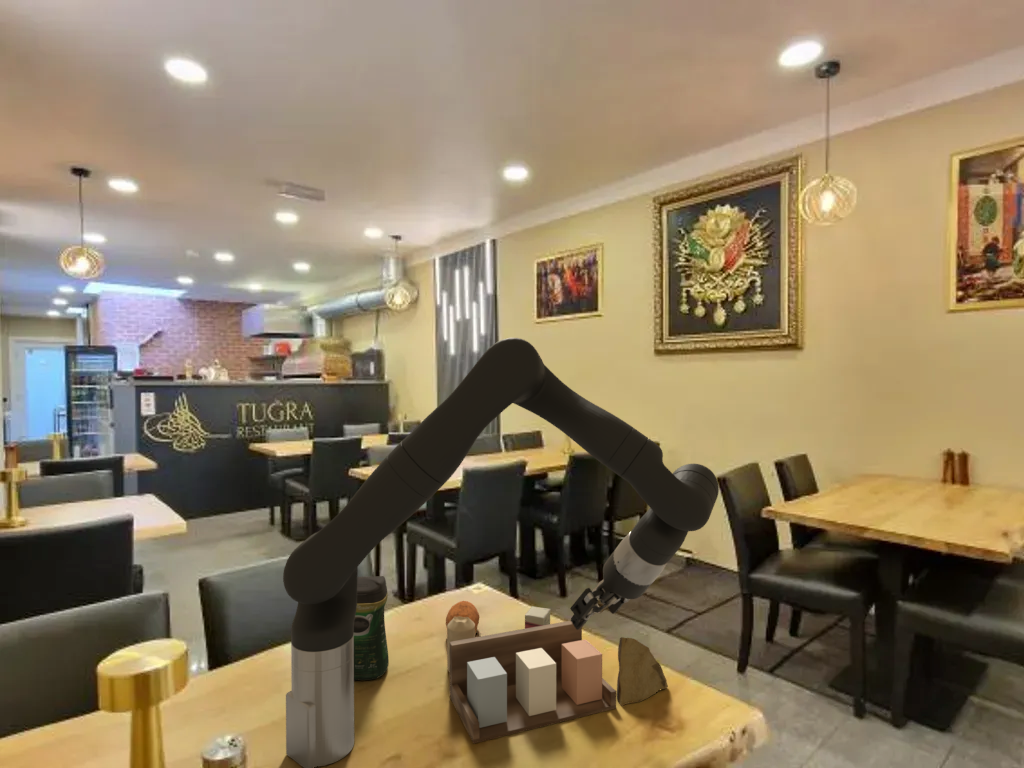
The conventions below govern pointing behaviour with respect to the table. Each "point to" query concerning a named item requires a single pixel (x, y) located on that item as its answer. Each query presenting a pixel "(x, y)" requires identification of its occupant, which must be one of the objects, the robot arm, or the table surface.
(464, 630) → the candle
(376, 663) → the coffee jar
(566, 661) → the key terracotta
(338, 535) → the robot arm
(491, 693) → the grey blue block
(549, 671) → the cream rectangular block
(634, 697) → the rock
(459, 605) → the potato
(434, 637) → the table surface
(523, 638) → the tray
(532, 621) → the small box
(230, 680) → the table surface
